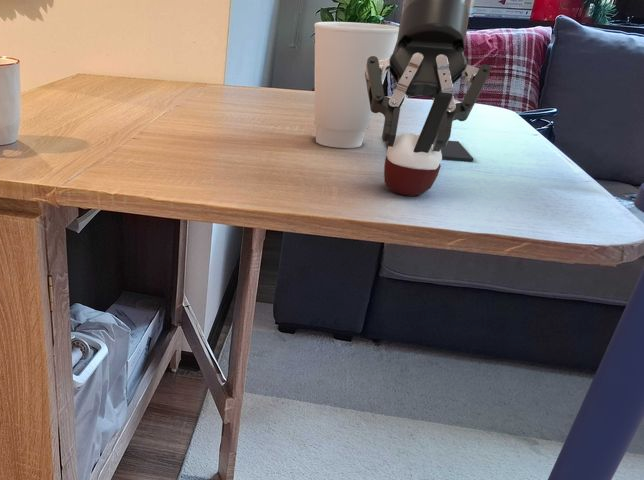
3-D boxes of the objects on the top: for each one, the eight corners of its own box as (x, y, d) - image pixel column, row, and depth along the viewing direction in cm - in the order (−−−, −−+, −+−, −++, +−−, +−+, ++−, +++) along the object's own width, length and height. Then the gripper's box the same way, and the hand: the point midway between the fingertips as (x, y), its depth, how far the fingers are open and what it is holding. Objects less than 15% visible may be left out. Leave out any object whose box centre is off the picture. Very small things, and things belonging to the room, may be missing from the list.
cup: (377, 155, 90) (402, 30, 82) (294, 147, 93) (310, 25, 84) (379, 138, 100) (401, 24, 92) (304, 130, 102) (318, 20, 94)
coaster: (457, 143, 98) (458, 141, 98) (472, 161, 89) (473, 158, 89) (385, 138, 100) (385, 135, 100) (392, 155, 91) (393, 152, 90)
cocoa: (385, 178, 80) (407, 76, 74) (437, 187, 78) (464, 82, 71) (370, 198, 72) (393, 87, 66) (427, 208, 70) (456, 94, 64)
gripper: (376, -12, 72) (352, 118, 68) (510, -5, 69) (492, 132, 65) (368, 36, 79) (346, 156, 76) (489, 44, 76) (472, 170, 73)
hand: (414, 144), depth 70 cm, fingers closed on cocoa, 4 cm apart
